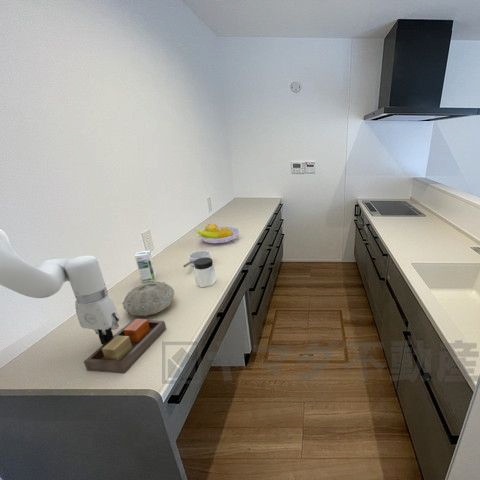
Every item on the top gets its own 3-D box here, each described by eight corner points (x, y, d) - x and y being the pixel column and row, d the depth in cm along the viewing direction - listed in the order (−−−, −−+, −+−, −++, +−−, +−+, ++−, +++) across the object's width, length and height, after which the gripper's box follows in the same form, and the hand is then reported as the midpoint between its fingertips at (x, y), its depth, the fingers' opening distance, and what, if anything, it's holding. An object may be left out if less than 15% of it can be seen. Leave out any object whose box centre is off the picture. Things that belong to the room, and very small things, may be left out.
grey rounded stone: (115, 316, 103) (108, 294, 100) (153, 293, 119) (149, 273, 116) (150, 325, 98) (144, 302, 95) (185, 299, 114) (181, 279, 111)
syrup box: (141, 283, 127) (134, 256, 122) (143, 277, 132) (136, 251, 127) (155, 281, 130) (148, 254, 124) (156, 275, 135) (150, 249, 130)
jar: (219, 282, 129) (216, 260, 125) (204, 289, 123) (200, 266, 119) (208, 277, 134) (205, 255, 130) (193, 283, 128) (189, 261, 123)
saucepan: (175, 274, 136) (173, 265, 134) (197, 258, 154) (195, 250, 152) (196, 276, 135) (194, 266, 133) (215, 260, 153) (214, 251, 151)
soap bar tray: (86, 370, 79) (80, 354, 77) (135, 326, 98) (131, 313, 96) (124, 373, 78) (119, 357, 76) (166, 328, 97) (163, 315, 95)
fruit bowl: (236, 232, 200) (235, 217, 196) (242, 244, 177) (240, 228, 173) (196, 236, 190) (194, 221, 186) (196, 250, 166) (194, 233, 162)
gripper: (57, 300, 79) (76, 348, 85) (104, 302, 78) (119, 351, 84) (81, 287, 86) (97, 332, 92) (123, 289, 85) (137, 335, 91)
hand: (108, 341), depth 88 cm, fingers closed
